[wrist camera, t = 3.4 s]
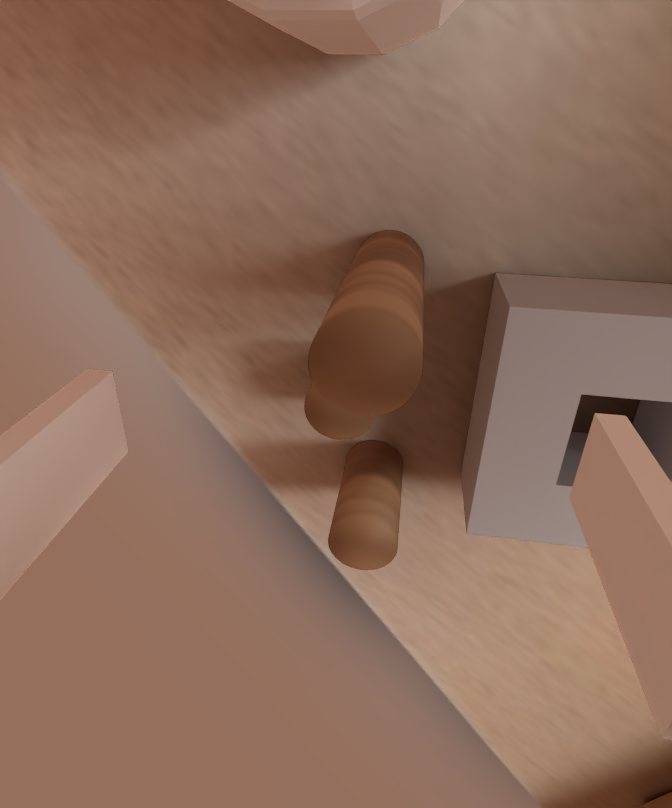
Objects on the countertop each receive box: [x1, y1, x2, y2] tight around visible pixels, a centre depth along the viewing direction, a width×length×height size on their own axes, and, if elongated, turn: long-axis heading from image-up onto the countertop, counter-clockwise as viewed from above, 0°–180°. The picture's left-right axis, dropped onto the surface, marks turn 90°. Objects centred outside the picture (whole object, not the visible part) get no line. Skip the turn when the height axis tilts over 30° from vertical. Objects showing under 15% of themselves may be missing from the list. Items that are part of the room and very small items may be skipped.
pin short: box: [304, 382, 374, 440], centre depth 32 cm, size 4×4×5 cm
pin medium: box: [328, 440, 403, 570], centre depth 34 cm, size 4×4×8 cm
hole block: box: [461, 273, 672, 548], centre depth 30 cm, size 14×14×6 cm
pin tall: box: [308, 230, 424, 417], centre depth 25 cm, size 4×4×14 cm
